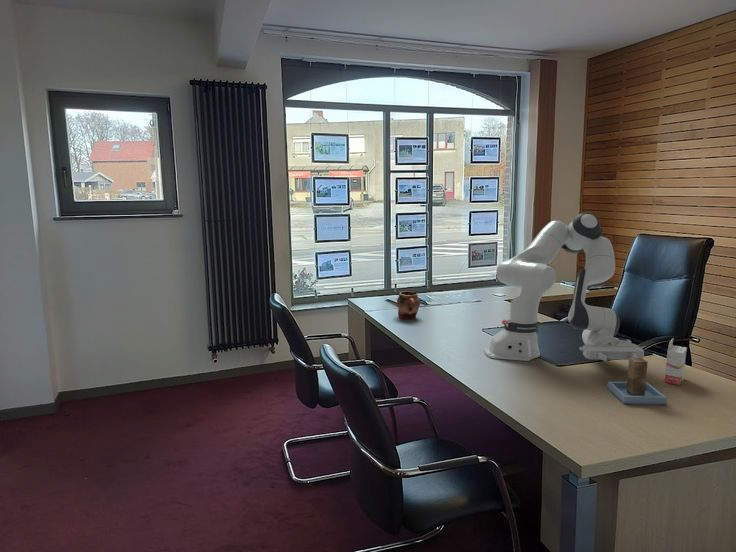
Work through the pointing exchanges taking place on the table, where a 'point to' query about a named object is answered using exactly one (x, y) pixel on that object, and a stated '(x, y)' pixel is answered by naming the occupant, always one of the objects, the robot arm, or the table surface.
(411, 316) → the decorative planter
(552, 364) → the table surface
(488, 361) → the table surface
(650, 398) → the slate tray
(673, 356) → the ink cartridge box
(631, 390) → the walnut block
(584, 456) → the table surface
